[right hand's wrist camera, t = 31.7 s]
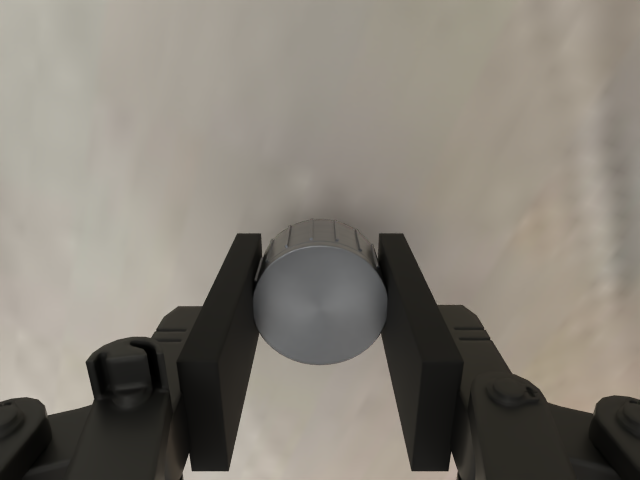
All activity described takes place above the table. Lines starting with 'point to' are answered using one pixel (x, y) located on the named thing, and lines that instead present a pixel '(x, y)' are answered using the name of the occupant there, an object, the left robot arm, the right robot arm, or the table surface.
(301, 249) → the cap
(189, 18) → the table surface
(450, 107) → the table surface
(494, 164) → the table surface
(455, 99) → the table surface
